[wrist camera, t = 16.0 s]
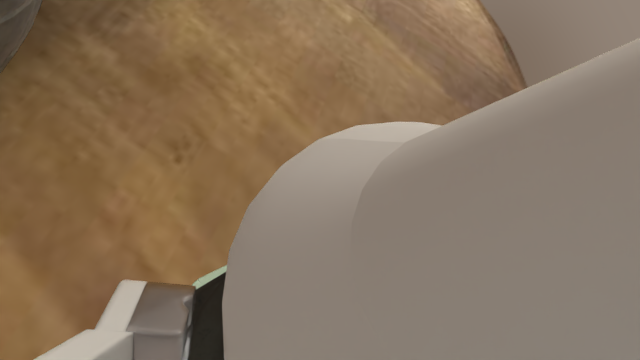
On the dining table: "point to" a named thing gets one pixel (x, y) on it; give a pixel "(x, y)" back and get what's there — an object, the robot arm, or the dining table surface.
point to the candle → (448, 236)
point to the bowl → (15, 26)
